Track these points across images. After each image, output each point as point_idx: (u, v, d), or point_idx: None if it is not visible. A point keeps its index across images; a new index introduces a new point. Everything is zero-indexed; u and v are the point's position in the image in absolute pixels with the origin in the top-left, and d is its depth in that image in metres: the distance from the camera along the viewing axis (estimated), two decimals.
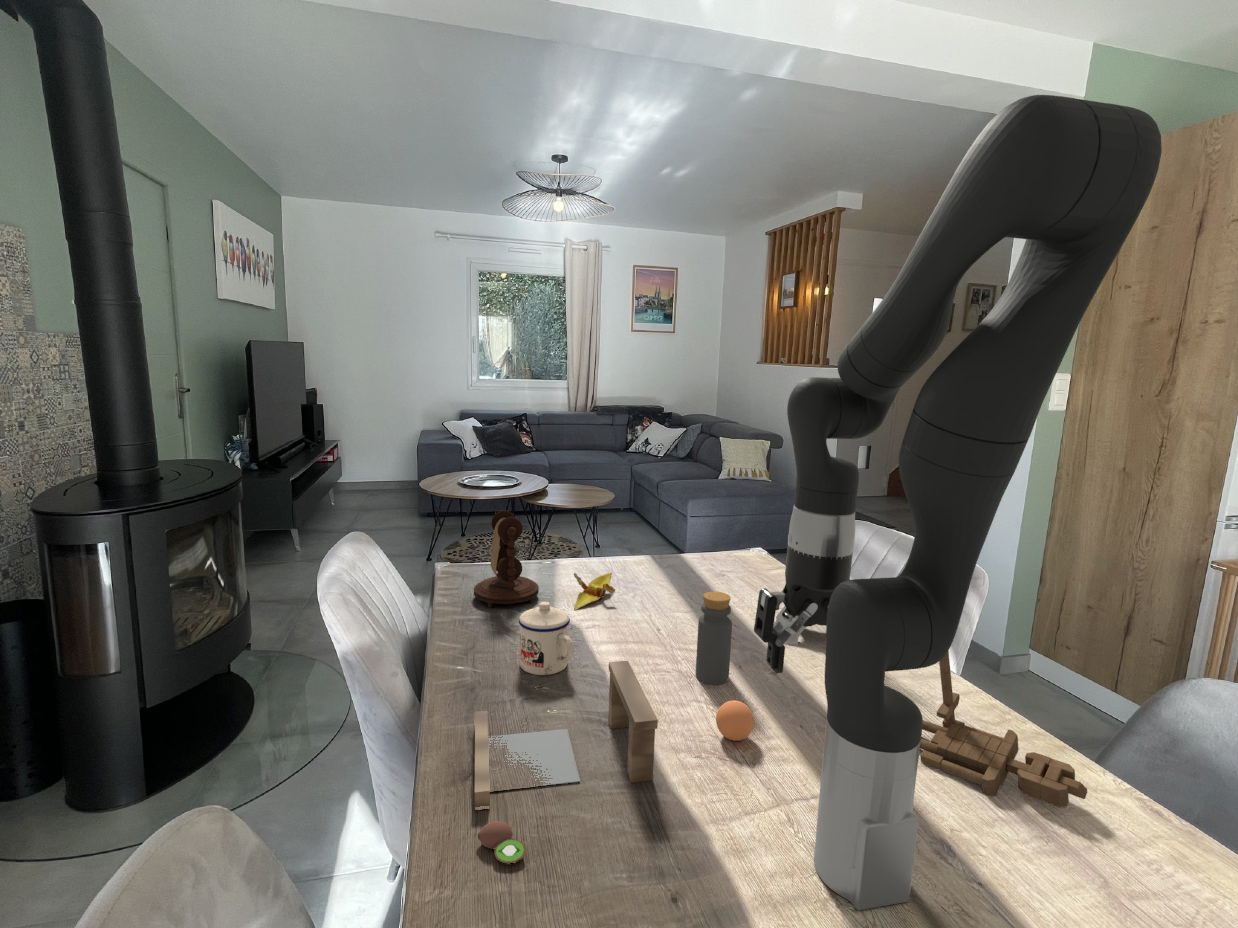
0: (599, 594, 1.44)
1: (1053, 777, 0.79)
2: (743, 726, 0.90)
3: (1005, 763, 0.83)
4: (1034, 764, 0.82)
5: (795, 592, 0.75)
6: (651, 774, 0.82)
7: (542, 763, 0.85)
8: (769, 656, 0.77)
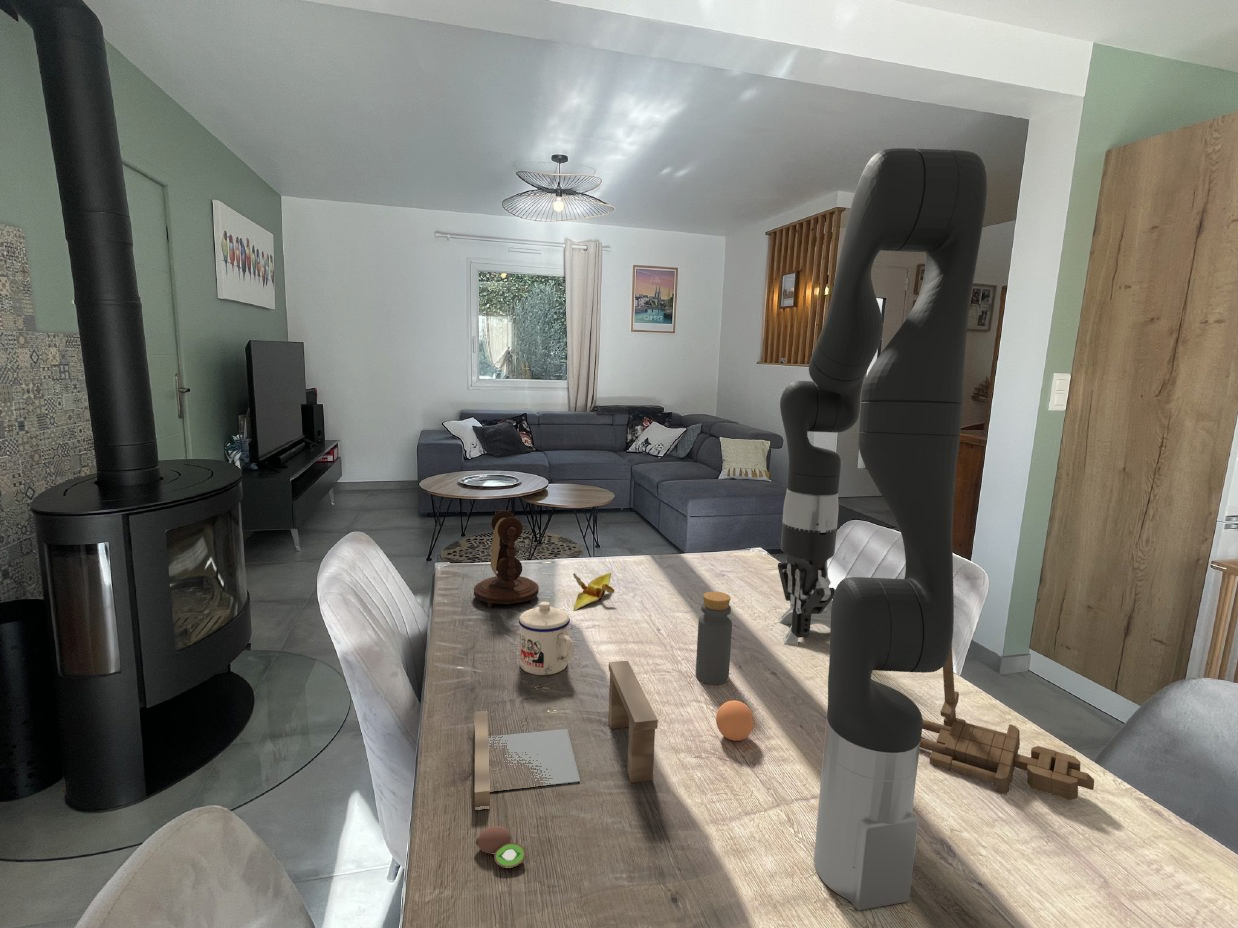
0: (598, 594, 1.44)
1: (1062, 770, 0.81)
2: (743, 726, 0.90)
3: (1013, 759, 0.84)
4: (1041, 758, 0.83)
5: None
6: (651, 774, 0.82)
7: (542, 763, 0.85)
8: None
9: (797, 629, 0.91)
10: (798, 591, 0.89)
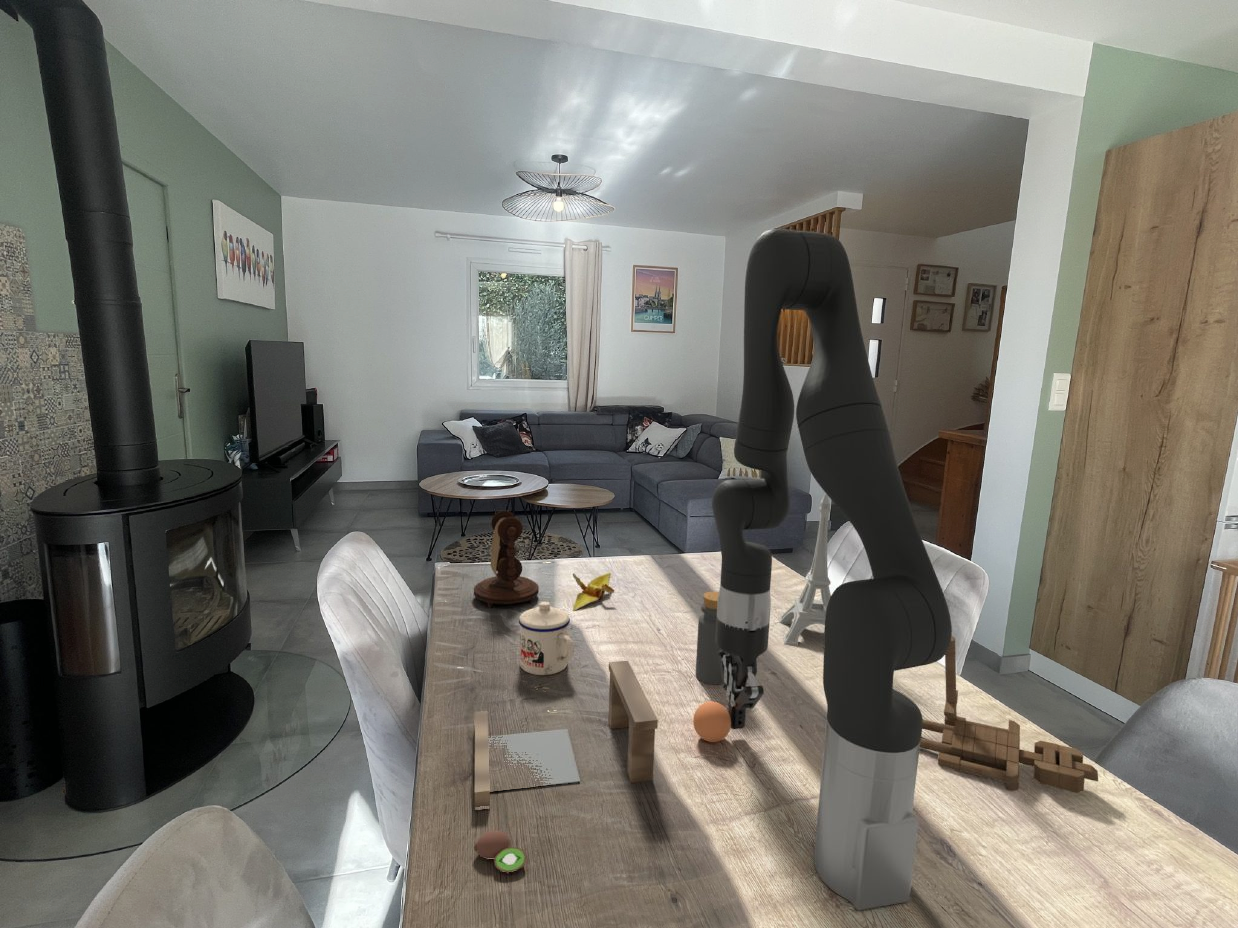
0: (598, 594, 1.44)
1: (1068, 764, 0.82)
2: (716, 726, 0.89)
3: (1019, 755, 0.85)
4: (1046, 753, 0.84)
5: None
6: (651, 774, 0.82)
7: (542, 763, 0.85)
8: None
9: (732, 721, 0.92)
10: (731, 685, 0.90)
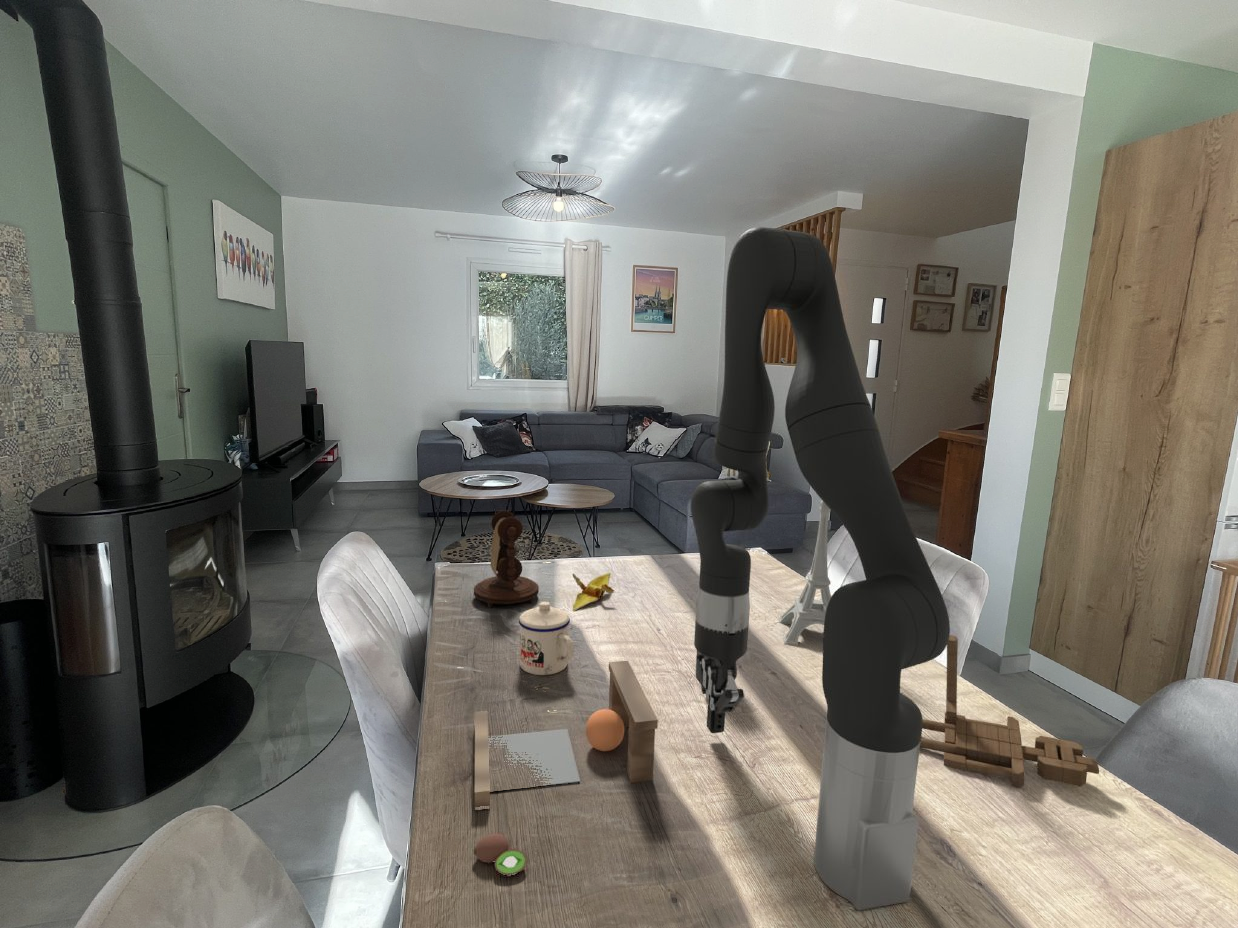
0: (598, 595, 1.44)
1: (1070, 758, 0.83)
2: (609, 735, 0.86)
3: None
4: (1048, 748, 0.85)
5: None
6: (651, 774, 0.82)
7: (542, 763, 0.85)
8: None
9: (711, 725, 0.91)
10: (710, 689, 0.89)
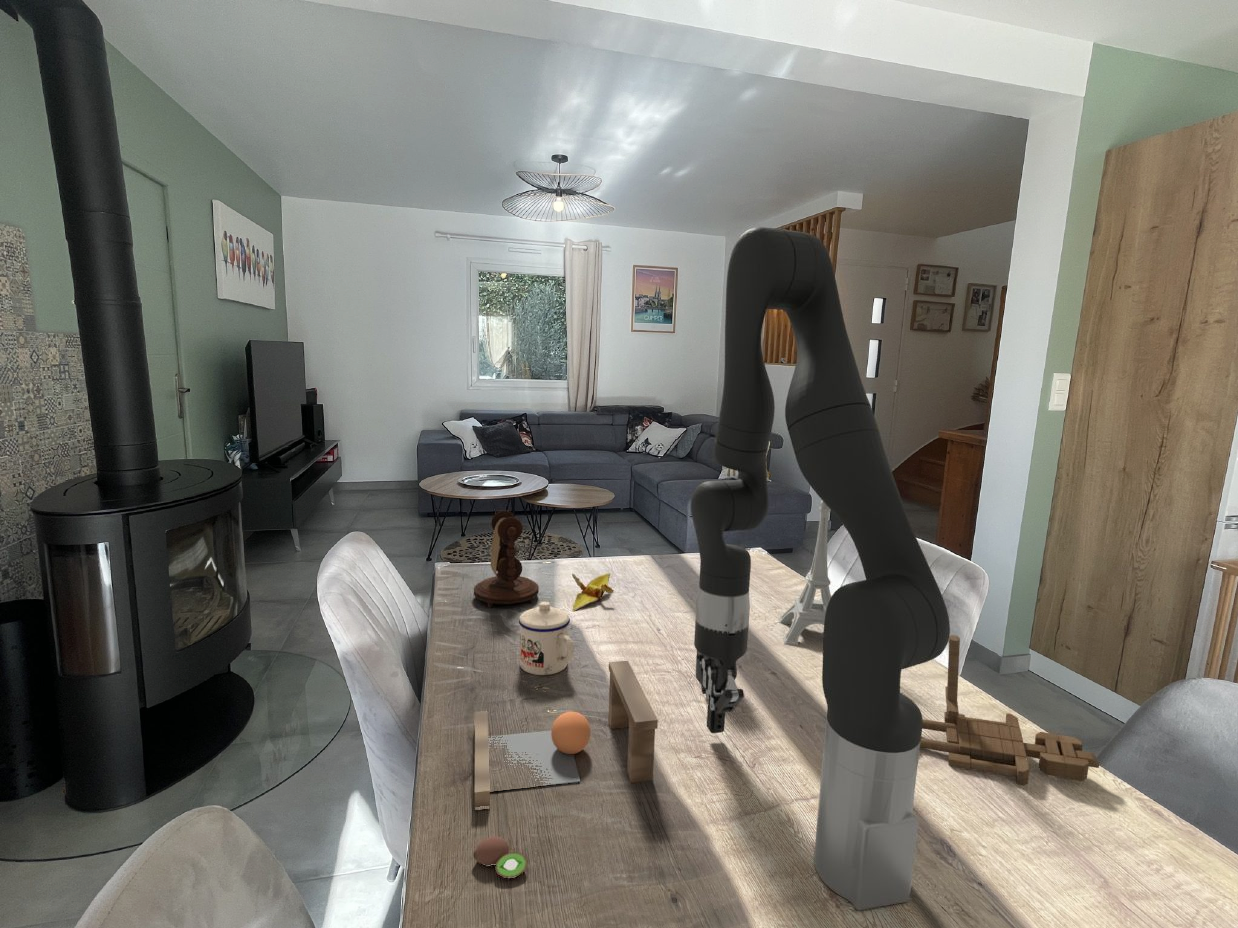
0: (597, 595, 1.44)
1: (1071, 754, 0.84)
2: (567, 743, 0.85)
3: (1024, 749, 0.87)
4: (1049, 744, 0.86)
5: None
6: (651, 774, 0.82)
7: (542, 763, 0.85)
8: None
9: (711, 725, 0.91)
10: (710, 689, 0.89)
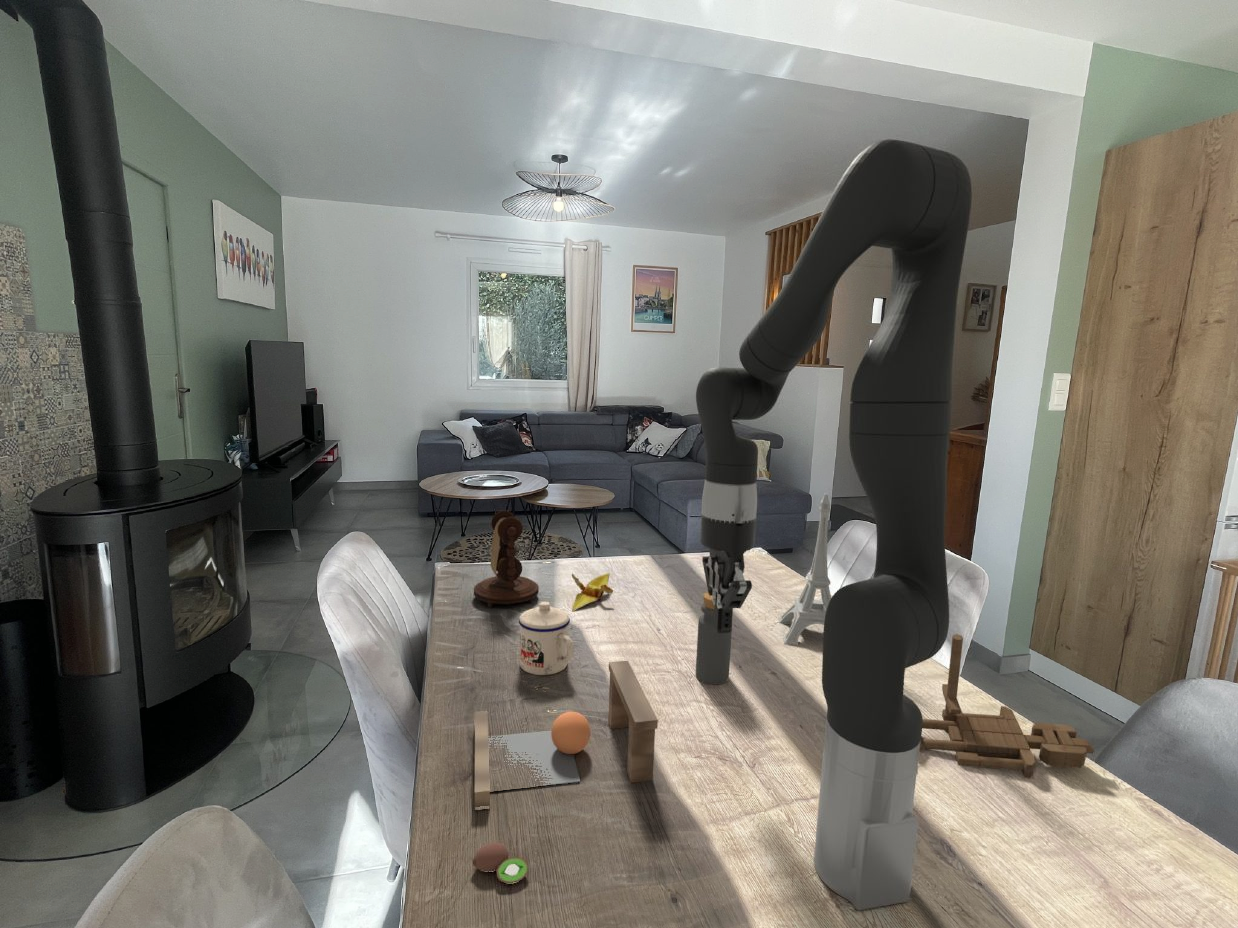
0: (597, 595, 1.44)
1: (1069, 742, 0.87)
2: (567, 743, 0.85)
3: None
4: (1047, 734, 0.89)
5: None
6: (651, 774, 0.82)
7: (542, 763, 0.85)
8: None
9: (718, 624, 0.88)
10: (717, 585, 0.87)
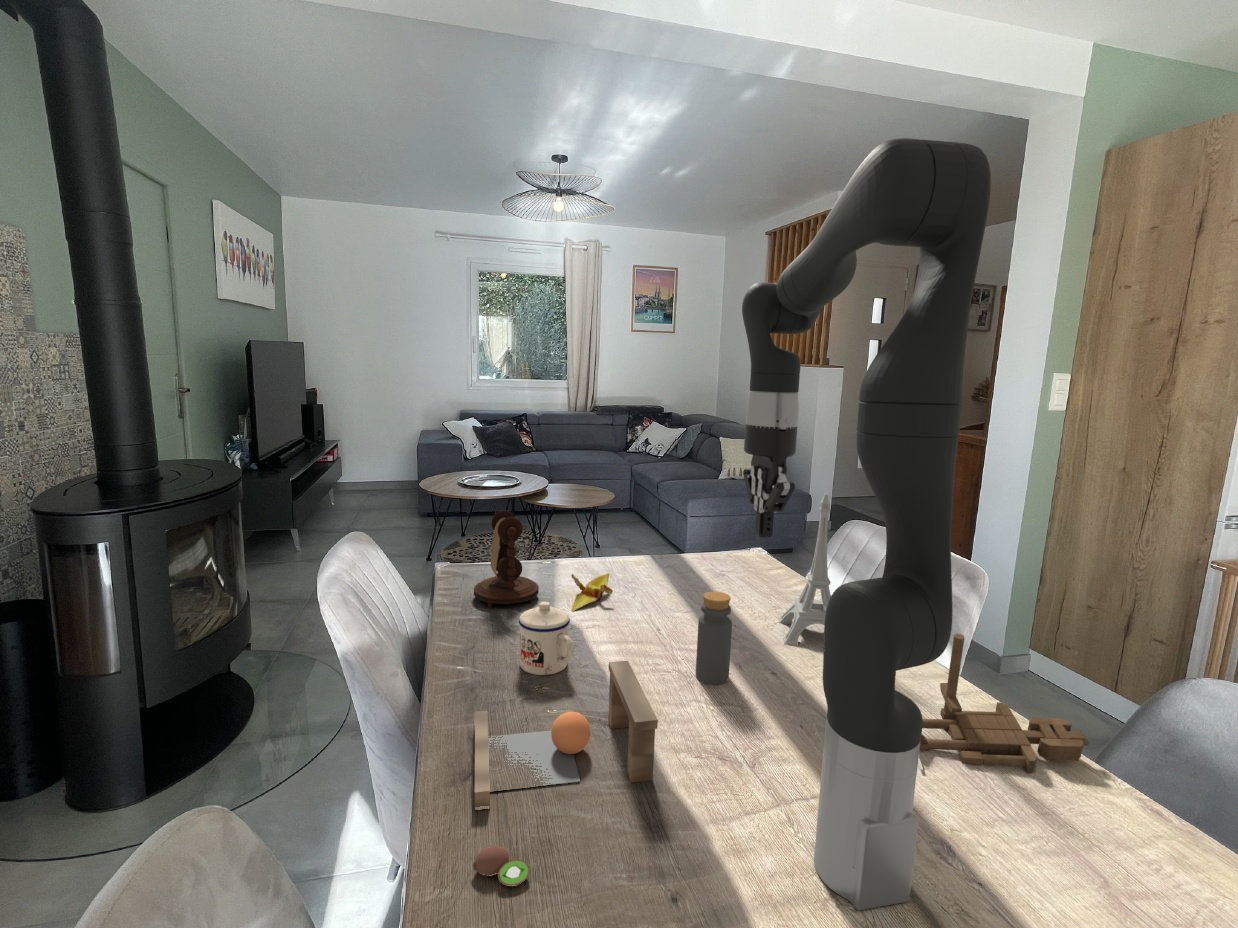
0: (597, 595, 1.44)
1: (1066, 735, 0.89)
2: (567, 743, 0.85)
3: None
4: (1044, 729, 0.90)
5: (753, 456, 0.96)
6: (651, 774, 0.82)
7: (542, 763, 0.85)
8: None
9: (760, 529, 0.94)
10: (760, 490, 0.92)
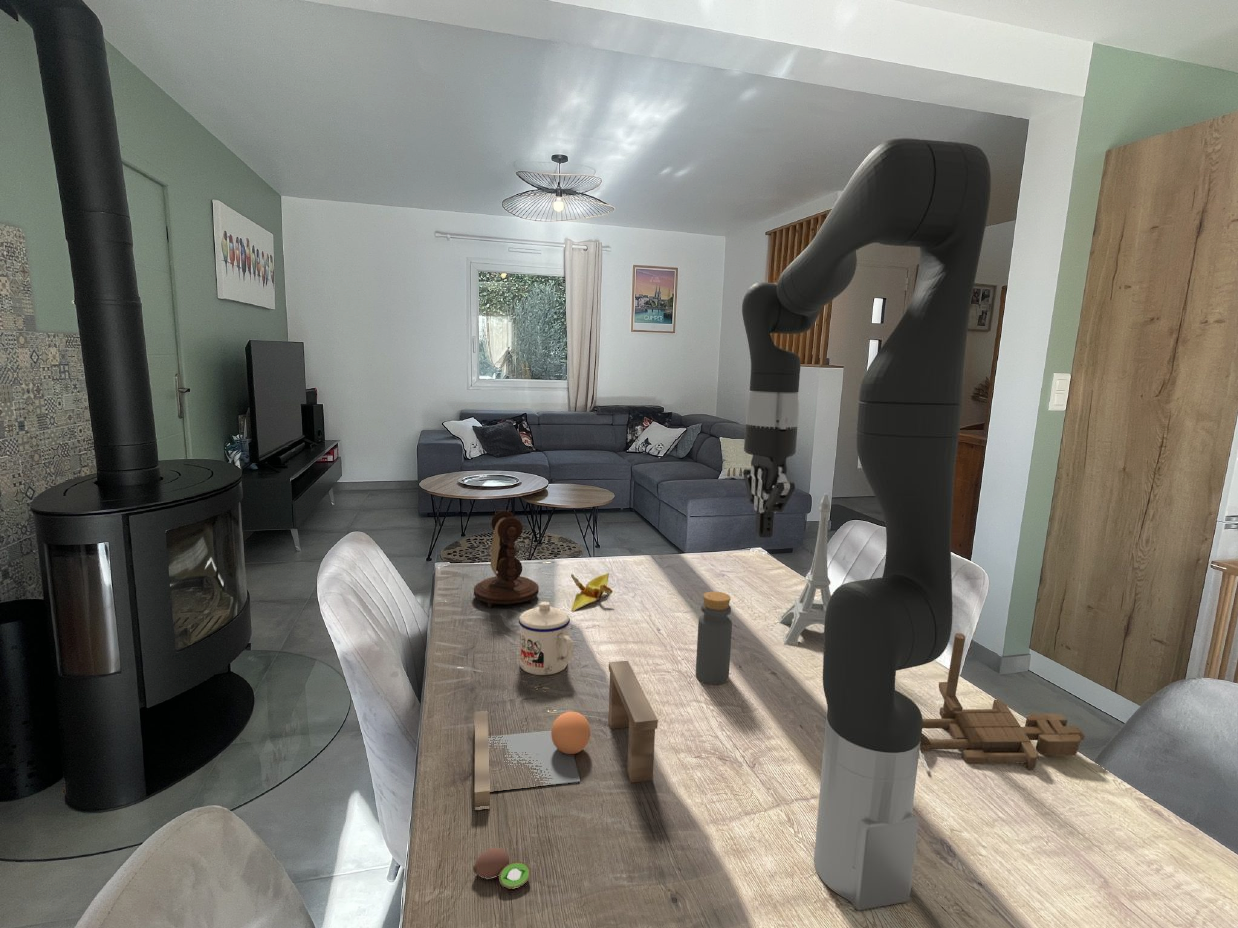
0: (596, 595, 1.43)
1: (1064, 731, 0.90)
2: (567, 743, 0.85)
3: None
4: (1042, 725, 0.91)
5: (753, 456, 0.96)
6: (651, 774, 0.82)
7: (542, 763, 0.85)
8: None
9: (760, 529, 0.94)
10: (760, 490, 0.92)
